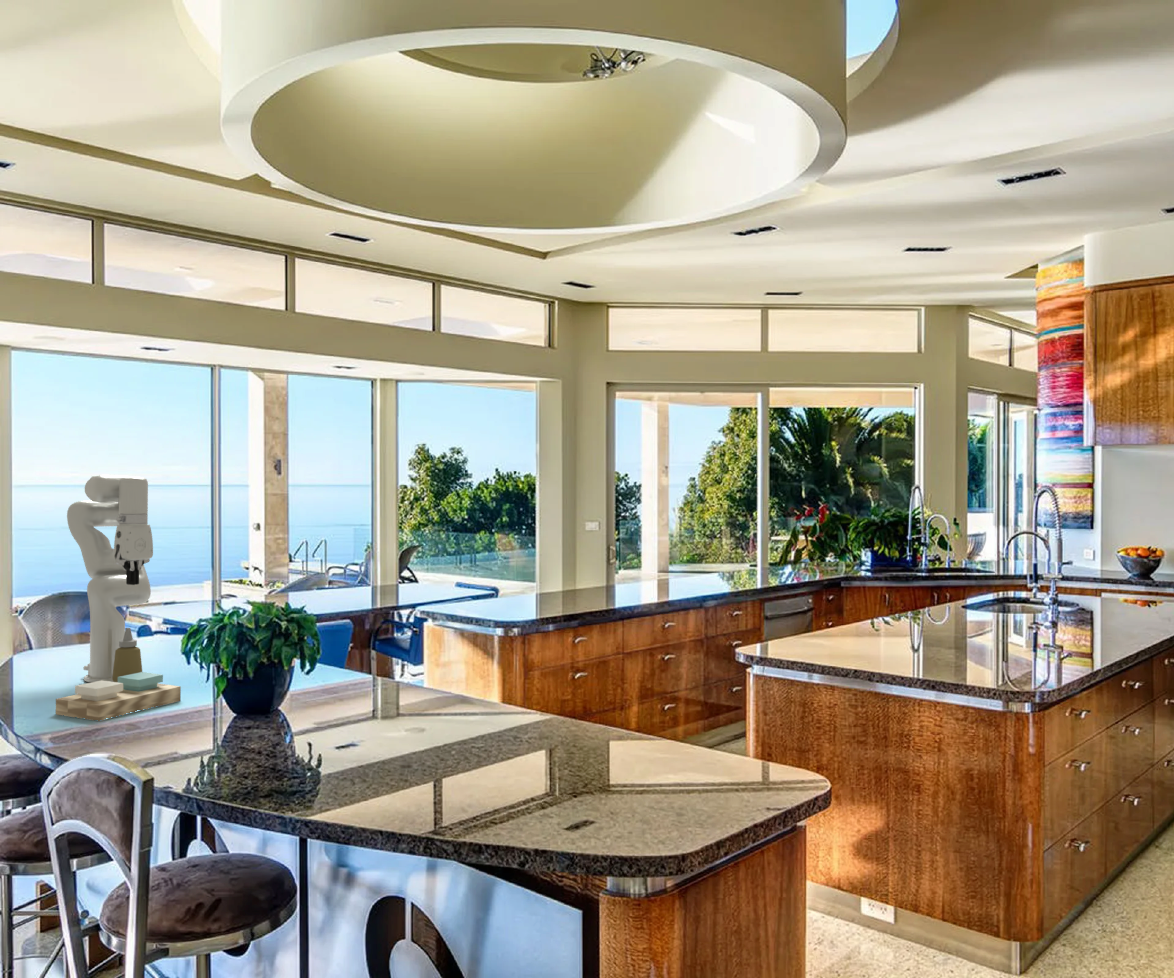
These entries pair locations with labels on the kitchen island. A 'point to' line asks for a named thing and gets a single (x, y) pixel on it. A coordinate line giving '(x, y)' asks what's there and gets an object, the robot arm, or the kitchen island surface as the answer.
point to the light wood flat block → (117, 703)
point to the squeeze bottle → (127, 657)
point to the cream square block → (99, 690)
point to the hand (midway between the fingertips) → (132, 584)
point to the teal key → (140, 681)
